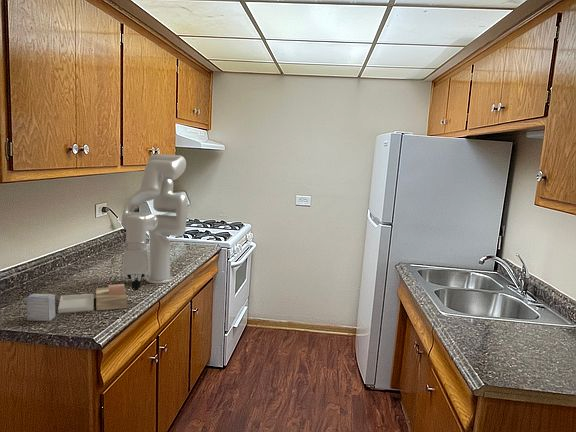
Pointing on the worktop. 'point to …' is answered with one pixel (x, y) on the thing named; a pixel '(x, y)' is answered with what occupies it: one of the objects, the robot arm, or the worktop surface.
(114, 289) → the tile
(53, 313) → the medicine box
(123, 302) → the beige rectangular block
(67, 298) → the box
